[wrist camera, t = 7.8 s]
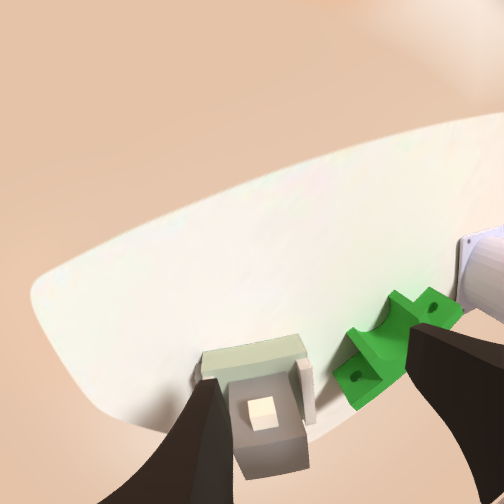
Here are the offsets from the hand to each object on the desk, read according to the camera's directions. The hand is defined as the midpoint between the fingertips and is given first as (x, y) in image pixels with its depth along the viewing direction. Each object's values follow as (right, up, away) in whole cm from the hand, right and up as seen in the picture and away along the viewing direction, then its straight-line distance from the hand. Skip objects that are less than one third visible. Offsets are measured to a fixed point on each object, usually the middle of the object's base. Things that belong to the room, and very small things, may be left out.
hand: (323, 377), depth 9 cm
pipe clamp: (+8, -2, +12) cm, 15 cm away
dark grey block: (-2, -6, +9) cm, 11 cm away
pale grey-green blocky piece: (-2, -6, +12) cm, 13 cm away
